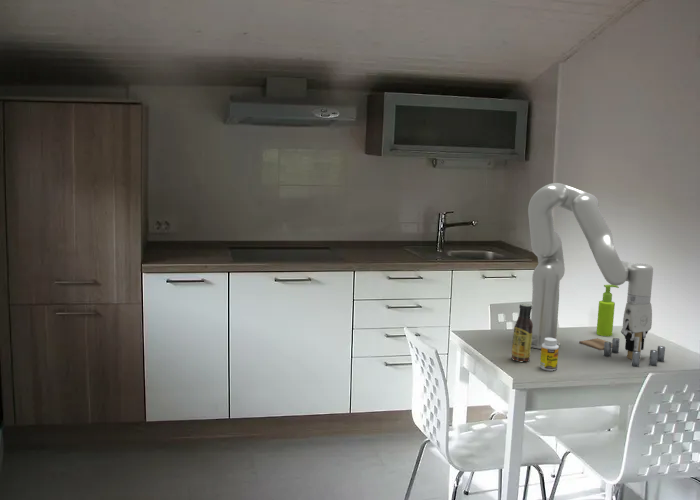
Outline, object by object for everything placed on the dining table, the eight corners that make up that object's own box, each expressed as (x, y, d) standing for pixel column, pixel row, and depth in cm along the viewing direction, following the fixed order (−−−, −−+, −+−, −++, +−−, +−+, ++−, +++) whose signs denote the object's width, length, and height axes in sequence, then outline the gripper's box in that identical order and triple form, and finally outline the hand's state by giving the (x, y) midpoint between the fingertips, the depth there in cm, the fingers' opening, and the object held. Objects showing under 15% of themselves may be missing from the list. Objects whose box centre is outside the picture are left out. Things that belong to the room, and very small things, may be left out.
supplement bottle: (544, 371, 231) (547, 341, 229) (536, 366, 236) (538, 337, 234) (560, 370, 232) (562, 341, 230) (551, 365, 237) (553, 336, 236)
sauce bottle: (507, 359, 243) (511, 303, 240) (519, 356, 247) (522, 301, 244) (522, 364, 238) (526, 307, 235) (534, 360, 242) (538, 305, 239)
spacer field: (640, 369, 236) (642, 354, 235) (597, 353, 251) (598, 340, 251) (670, 362, 243) (671, 348, 242) (626, 348, 259) (627, 335, 258)
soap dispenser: (616, 336, 274) (621, 286, 271) (599, 336, 274) (603, 286, 271) (611, 332, 280) (615, 283, 277) (594, 332, 280) (598, 283, 277)
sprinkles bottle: (643, 359, 247) (646, 322, 244) (635, 361, 244) (638, 323, 242) (631, 355, 250) (634, 319, 248) (623, 357, 248) (626, 320, 246)
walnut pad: (600, 350, 256) (600, 348, 256) (579, 342, 265) (579, 341, 265) (619, 346, 261) (619, 345, 261) (597, 339, 269) (597, 338, 269)
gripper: (631, 303, 236) (626, 355, 239) (663, 299, 245) (659, 349, 248) (613, 299, 243) (609, 349, 246) (645, 294, 251) (641, 343, 254)
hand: (634, 349), depth 247 cm, fingers closed on sprinkles bottle, 4 cm apart
